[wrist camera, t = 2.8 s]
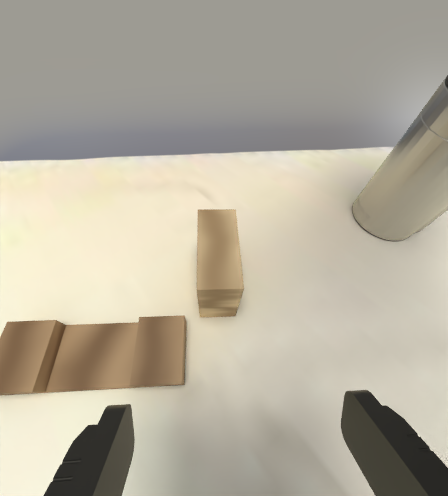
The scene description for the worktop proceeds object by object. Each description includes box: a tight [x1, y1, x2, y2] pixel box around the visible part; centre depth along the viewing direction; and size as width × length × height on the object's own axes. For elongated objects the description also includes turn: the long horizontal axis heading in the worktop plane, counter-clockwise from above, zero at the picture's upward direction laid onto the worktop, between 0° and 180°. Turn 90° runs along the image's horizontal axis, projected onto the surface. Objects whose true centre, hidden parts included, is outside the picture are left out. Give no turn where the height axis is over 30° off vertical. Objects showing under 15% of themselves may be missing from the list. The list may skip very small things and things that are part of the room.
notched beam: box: [0, 316, 186, 395], centre depth 23 cm, size 17×6×2 cm, turn 93°
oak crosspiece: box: [197, 210, 244, 317], centre depth 26 cm, size 4×9×8 cm, turn 3°
